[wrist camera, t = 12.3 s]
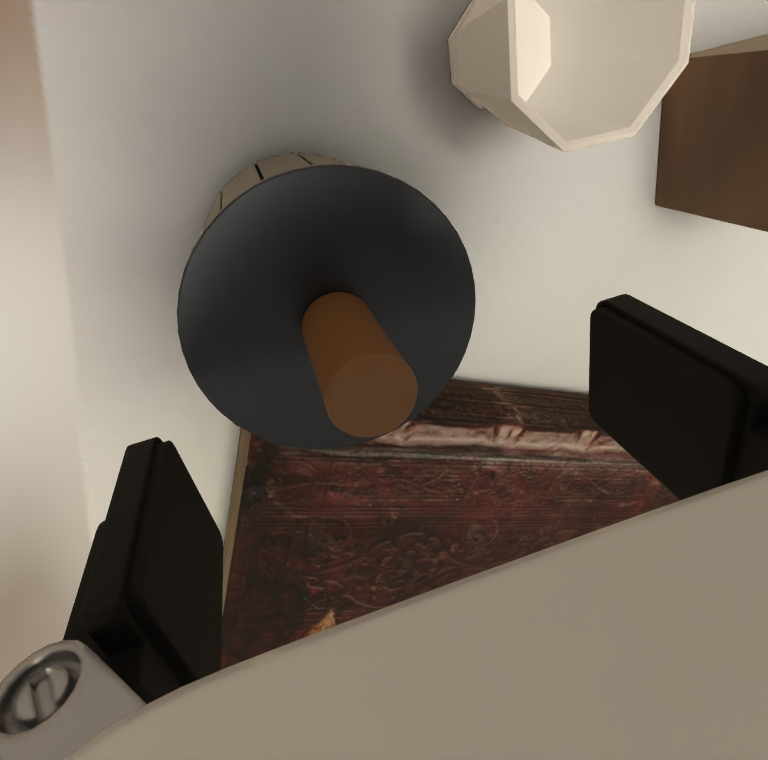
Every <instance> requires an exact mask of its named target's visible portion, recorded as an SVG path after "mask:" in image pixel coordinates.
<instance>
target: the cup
mask: <svg viewBox="0 0 768 760" xmlns="http://www.w3.org/2000/svg"><path fill="white" fill-rule="evenodd" d="M695 1H696V0H473V1H471V3H470V4H469V6H468V8H467V9H466V11H465V12H464V14H463V16H462V17H461V19H460V21H459V22H458V24H457V26H456V27H455V29H454V30H453V32H452V34H451V35H450V37H449V39H448V46H449V57H450V68H451V79H452V84H453V85H454V86H455V87H456V88H457V89H458V90H459V91H460V92H461V93H462V94H464V95H465V96H466V97H467V98H468V99H469V100H470V101H471V102H472V103H473V104H474V105H476V106H477V107H478V108H487V109H488V110H489V111H490V112H491V113H492V114H494V115H495V116H496V117H497V118H499V119H500V120H501V121H502V122H503V123H505V124H506V125H507V126H509V127H512V128H514V129H516V130H518V131H521V132H523V133H525V134H527V135H530V136H532V137H534V138H536V139H538V140H540V141H542V142H544V143H546V144H548V145H550V146H552V147H554V148H556V149H559V150H561V151H563V152H568V151H572V150H577V149H581V148H585V147H590V146H594V145H598V144H602V143H607V142H611V141H615V140H620V139H624V138H628V137H633V136H635V134H636V133H637V132H638V130H639V129H640V128H641V126H642V125H643V124H644V122H645V121H646V120H647V118H648V117H649V116H650V114H651V113H652V112H653V110H654V109H655V107H656V106H657V105H658V103H659V102H660V101H661V99H662V98H663V97H664V95H665V94H666V93H667V91H668V90H669V89H670V87H671V86H672V85H673V83H674V82H675V81H676V79H677V78H678V77H679V75H680V74H681V72H682V71H683V70H684V68H685V67H686V66H687V64H688V63H689V55H690V46H691V37H692V28H693V19H694V10H695Z"/></svg>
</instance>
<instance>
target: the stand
mask: <svg viewBox="0 0 768 760" xmlns="http://www.w3.org/2000/svg"><path fill="white" fill-rule="evenodd" d="M656 205H657V206H661V207H665V208H669V209H674V210H678V211H682V212H686V213H690V214H695V215H699V216H703V217H707V218H712V219H716V220H720V221H724V222H728V223H733V224H737V225H741V226H745V227H749V228H754V229H758V230H762V231H766V232H768V34H767V35H764V36H760V37H756V38H752V39H748V40H744V41H740V42H736V43H732V44H728V45H724V46H720V47H716V48H712V49H708V50H704V51H700V52H696V53H692V54H690V55H689V63H688V64H687V66H686V67H685V68H684V70H683V71H682V72H681V74H680V75H679V77H678V78H677V79H676V81H675V82H674V83H673V85H672V86H671V87H670V89H669V90H668V91H667V93H666V94H665V95H664V97H663V105H662V120H661V134H660V148H659V163H658V177H657V191H656Z"/></svg>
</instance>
